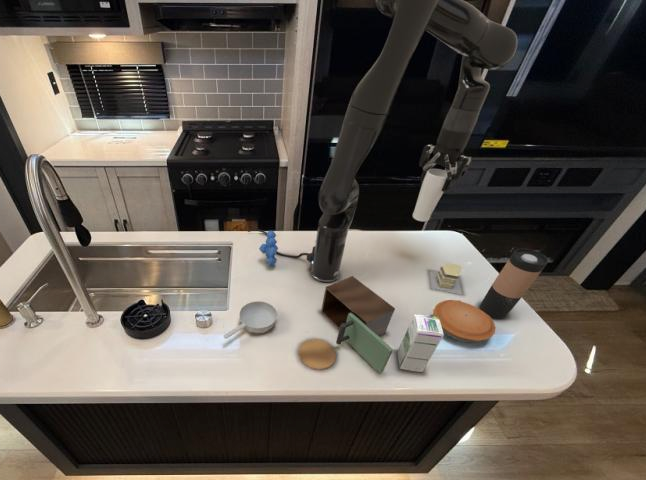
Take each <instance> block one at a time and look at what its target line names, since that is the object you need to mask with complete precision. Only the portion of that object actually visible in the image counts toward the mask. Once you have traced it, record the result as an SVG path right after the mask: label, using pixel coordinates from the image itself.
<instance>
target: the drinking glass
mask: <svg viewBox="0 0 646 480" xmlns="http://www.w3.org/2000/svg"><path fill="white" fill-rule="evenodd" d="M446 179H448V177H447V172H446V169H445V170H444V169H441V168H431V169H429V170H428V171H427V173H426V175H425V178H424V180H423V183H421V186H420V190H419V192H418V197H417V199H416V203H415V207H414V209H413V212H412V218H413V219H414V220H415V221H418V222H427V221H429V220H430V219H431V217H432V215H433V213H434V211H435V209H436V207H437V205H438V203H439V201H441V200H440V199H441V198H442V196H443V194H444V192H443V191H442V188H443V186H444V183H445V181H446Z"/></svg>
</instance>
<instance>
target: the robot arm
mask: <svg viewBox="0 0 646 480" xmlns="http://www.w3.org/2000/svg"><path fill="white" fill-rule="evenodd" d="M375 4H376V7H377V9H378V10H379V11H380V13H381V14H383V15H384V16H385V17H388V18H389V19H393V20H392V24H391V27H390V29H389V32H388V35H387V38H386V41H385V43H384V46H383V47H382V51H381V53H380V54H379V56H378V57H377V59H376V61H375V62H374V63H373V64H372V66H371V68H370V69H369V70H368V71H367V72H366V73H365V74H364V76H363V77H362V78H361V80H360V81H359V82H358V84H357V86H356V87H355V89H354V90H353V92H352V94H351V97H350V99H349V103H348V105H347V106H348V107H347V109H346V111H345V115H344V119H343V121H342V126H341V128H340V129H341V130H340V133H339V136H338V138H337V141H336V142H337V143H336V145H335V149H334V153H333V156H332V159H331V162H330V165H329V167H328V169H327V172H326V174H325V177H324V179H323V181H322V184H321V186H320V188H319V192H318V196H317V201H318V206H319V209H320V210H321V211H322V215H321V217H320V218H319V219H318V223H317V229H316V238H315V245H314V246H313V247H312V250H311V252H310V253H309V252H301V253H299V254H298V255H288V254H285V253H281V252H279V251H277V253H276V254H275V255H279V256H281V257H285V258H291V259H299V258H301V257H303V256H306V261H307V262H308V263H310V265H309V271H310V275H311V277H312V278H313V279H314V280H316V281H318V282H322V283H332V282H334V281H337V280H338V278H339V275H340V271H341V270H340V269H341V266H342V261H343V256H344V251H345V247H346V243H347V238H348V233H349V229H350V227H351V225H352V222H353V219H354V218H355V217H354V216H355V213H356V210H357V205H358V201H359V197H360V187H359V183H358V181H357V179H356V176H357V173H358V171H359V169H360V167H361V166H362V164H363V163H364V161H365V159H366V158H367V156H368V155H369V153H370V152H371V150H372V148H373V147H374V145H375V143H376V142H377V140H378V138H379V137H380V135H381V133H382V130H383V128H384V126H385V123H386V120H387V118H388V115H389V113H390V111H391V107H392V105H393V102H394V100H395V97H396V94H397V93H398V90H399V87H400V85H401V83H402V81H403V78H404V76H405V74H406V72H407V70H408V67H409V65H410V62H411V60H412V58H413V55H414V53H415V51H416V49H417V47H418V45H419V44H420V41H421V40H422V37H423V35H424V33H425V31H426V32H427V33H428V34H430V35H431V36H432V37H433V38H435V39H436V40H438V41H439V42H441V43H442V44H443V45H444V46H446V47H447V48H449V49H450V50H451V51H453V52H454V53H456V54H457V55H460V56H462V58H461V63H460V71H459V78H458V86H457V90H456V93H455V95H454V98H453V100H452V103H451V106H450V108H449V110H448V112H447V114H446V116H445V119H444V120H443V124H442V126H441V129H440V131H439V134H438V137H437V140H436V144H435V145H433V144H432V143H430V144H426V145H424V146H423V149H422V152H421V156H420V159H419V163H418V166H419V167H421V168H422V173H421V175H420V179H419V180H420V183H421V184H422V183H423V180H424V178H425V175H426V173H427V171H428V170H429V169H433V167H434V166H436V165H438V166H441V167H443V168H445V171H446V172H447V177H448V179H446V181H445V183H444V186H443V188H442V191H443V193H445V192H447V191H450V189H451V188H452V186H453V184H454V181H458V180H460V179H463V178H464V176H465V174H466V173H467V171H468V169H469V167H470V165H471V163H472V161H473V157H472V156H466V155H464V150H465V149H466V147H467V144H468V142H469V140H470V138H471V135H472V133H473V130H474V128H475V127H476V124H477V122H478V119H479V116H480V112H481V110H482V108H483V105H484V103H485V101H486V99H487V96H488V95H489V91H490V89H491V85H490V83H489V82H488V81H486V80H485V79H483V78H482V69H485V70H490V71H493V70H499V69H501V68H503V67H504V66H505V65H507V64H508V63H509V62H510V61H511V60H512V59H513V57H514V56H515V54H516V52H517V49H518V43H519V42H518V36H517V34H516V32H515V31H514V30H513V29H511V28H510V27H507V26H505V25H502V24H501V23H497V22H495V21H492V20H490V19H489V18H488V17H487V16H486V15H485V14H483V12H481V11H480V10H479V9H478V8H476V6H474V5H473V4H471V3H469V2H467V1H466V0H375ZM431 154H432V155H433V157H431ZM430 157H431V158H430ZM458 162H459V167H458ZM253 231H254V232H255V231H256V232H259V233H263V234H264V235H266V234H267V233H268V231H266V230H263V229H260V228H250V229H248V230H247V232H248V233H250V232H253Z"/></svg>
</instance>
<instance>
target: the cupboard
mask: <svg viewBox="0 0 646 480" xmlns="http://www.w3.org/2000/svg"><path fill="white" fill-rule="evenodd" d="M395 310H396V308H395V307H394V305H391V303H389V302H388V301H386V300H385V299H383V297H381V296H380V295H379V294H377V293H376V292H374V291H373V290H372V289H370V288H369V287H368V286H367V285H365V284H364V283H362V282H361V280H358V279H357V278H356V277H355V276H353V275H351V276H348V277H346V278H344V279H341V280H339V281H336V282H334V283H332V284H329V285H327V286H325V288H324V294H323V300H322V305H321V310H320V313H321V314H322V315H323V316H324V317H326V319H327V320H328V321H329V322H330V323H332V324H333V326H335V327H336V329H338V331H339V330H340V326H341V324H342V323H346V320H347V317H348V314H349V313H352V314H353V315H355V316H356V317H357V318H358V319H359V320H360V321H361V322H363V323H364V324H365V325H366V326H367V327H368V328H369V329H371V330H372V331H373V332H374V333H375V334H376V335H378V336H379V337H380V338H381V337H382V336H384V335H385V334H386V332H387V329H388V327H389V325H390V322H391V320H392V317H393V315H394V313H395Z"/></svg>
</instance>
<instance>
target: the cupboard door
mask: <svg viewBox="0 0 646 480" xmlns="http://www.w3.org/2000/svg"><path fill="white" fill-rule="evenodd" d="M345 341H346V343H348V344H349V345H350V346H351V347H352V348H353V349H354V350H355V351H356V352H357V353H358V354H359V355H360V356H361V357H362V358H363V359H364V360H365V361H366V362H367V363H369V365H371V367H373V368H374V369H375V370H376V371H377V372H378V373H379V374H380V375H381V374H382V373H384V370H385V369H386V366H387V364H388V362H389V360H390V358H391V356H392V353H393V352H394V348H393V347H391V346H390V344H388V343H387V342H386V341H384V340H383V339H382V338H381V336H380V337H379V336H378V335H376V334H375V333H374V332H373V331H372V330H371V329H369V328H368V327H367V326H366V325H365V324H364V323H363V322H361V321H360V320H359V319H358V318H357V317H356V316H355V315H353V314H352V313H349V314H348V317H347V320H346V323H342V324H341V326H340V330H339V329H338V333H337V336H336V342H335V343H336V345H338V346H341V345H342V343H344V342H345Z"/></svg>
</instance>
